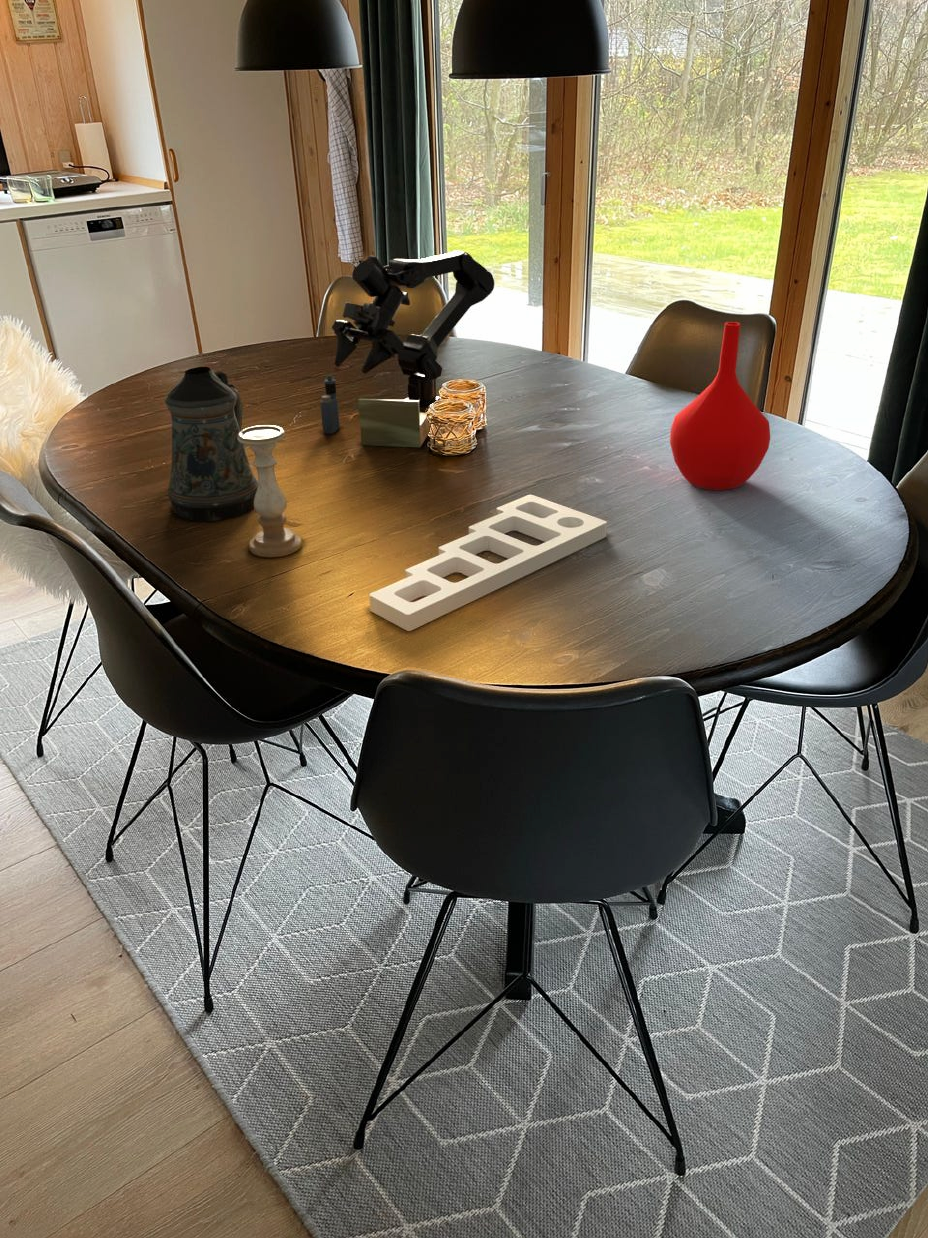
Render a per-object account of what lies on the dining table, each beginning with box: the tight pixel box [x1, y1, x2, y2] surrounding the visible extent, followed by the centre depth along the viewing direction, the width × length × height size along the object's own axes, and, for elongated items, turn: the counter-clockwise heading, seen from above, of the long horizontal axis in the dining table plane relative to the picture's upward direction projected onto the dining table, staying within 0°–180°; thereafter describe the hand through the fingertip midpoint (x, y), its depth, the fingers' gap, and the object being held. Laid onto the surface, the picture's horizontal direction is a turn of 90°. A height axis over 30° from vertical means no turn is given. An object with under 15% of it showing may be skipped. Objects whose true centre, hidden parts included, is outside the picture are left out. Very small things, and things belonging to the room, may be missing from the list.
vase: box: [669, 321, 771, 491], centre depth 178 cm, size 18×18×30 cm
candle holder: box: [237, 424, 302, 558], centre depth 158 cm, size 9×9×20 cm
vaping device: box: [320, 374, 341, 435], centre depth 213 cm, size 3×5×12 cm, turn 161°
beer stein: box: [164, 366, 258, 522], centre depth 175 cm, size 16×19×25 cm
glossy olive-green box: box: [357, 398, 430, 448], centre depth 208 cm, size 10×13×10 cm
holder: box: [368, 494, 608, 632], centre depth 156 cm, size 45×18×3 cm, turn 134°
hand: (349, 368), depth 214 cm, fingers open, 9 cm apart
